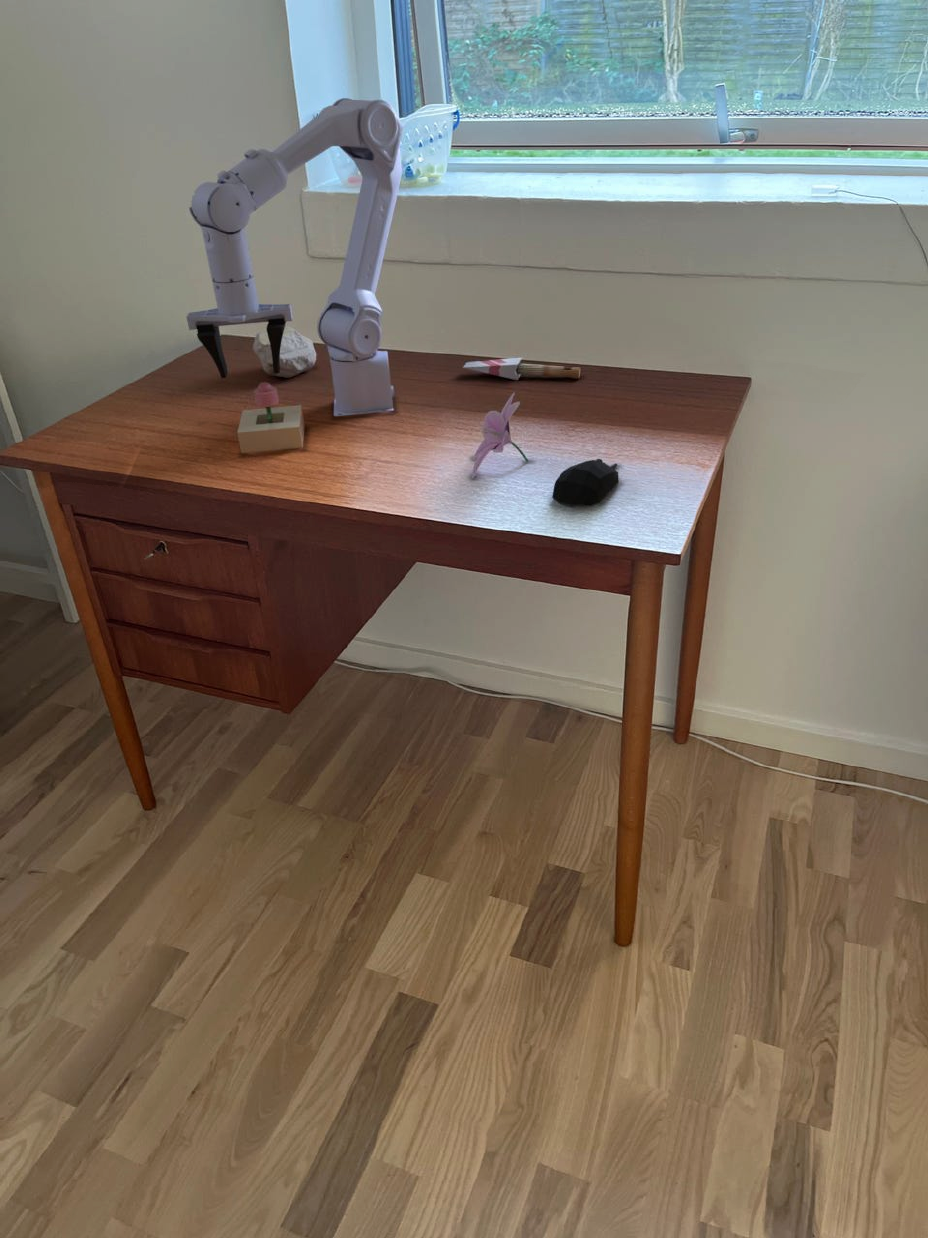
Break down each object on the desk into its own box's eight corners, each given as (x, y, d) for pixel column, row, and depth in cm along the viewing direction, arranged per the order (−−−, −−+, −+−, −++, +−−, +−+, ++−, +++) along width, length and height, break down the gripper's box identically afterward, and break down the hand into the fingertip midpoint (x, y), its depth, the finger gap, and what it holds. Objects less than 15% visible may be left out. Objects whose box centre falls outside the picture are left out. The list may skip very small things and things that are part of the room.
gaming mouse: (637, 470, 125) (638, 442, 122) (587, 515, 115) (588, 486, 112) (595, 461, 128) (595, 434, 125) (543, 505, 118) (542, 476, 115)
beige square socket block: (305, 428, 144) (301, 404, 142) (303, 450, 137) (299, 426, 135) (247, 433, 144) (242, 410, 142) (242, 456, 136) (237, 432, 134)
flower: (285, 433, 141) (276, 377, 137) (284, 443, 138) (274, 387, 133) (263, 435, 141) (253, 379, 136) (261, 445, 138) (250, 389, 133)
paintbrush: (467, 352, 161) (581, 361, 156) (467, 368, 162) (580, 377, 158) (461, 359, 158) (577, 369, 153) (461, 375, 159) (576, 385, 155)
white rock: (329, 363, 171) (279, 367, 173) (320, 317, 167) (269, 322, 169) (306, 381, 160) (253, 385, 163) (296, 332, 156) (242, 337, 159)
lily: (495, 447, 136) (461, 397, 131) (564, 426, 130) (531, 373, 124) (473, 504, 130) (435, 454, 124) (544, 485, 123) (508, 432, 117)
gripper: (175, 289, 124) (197, 387, 132) (283, 280, 125) (299, 378, 133) (183, 276, 130) (203, 371, 138) (286, 268, 131) (301, 362, 138)
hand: (251, 373), depth 135 cm, fingers open, 7 cm apart
